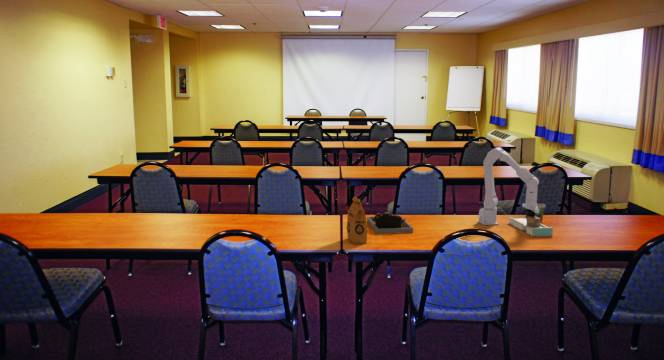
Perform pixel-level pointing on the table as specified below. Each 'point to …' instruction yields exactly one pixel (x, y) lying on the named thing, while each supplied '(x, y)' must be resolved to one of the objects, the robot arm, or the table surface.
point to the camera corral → (390, 230)
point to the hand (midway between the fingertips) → (529, 222)
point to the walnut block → (533, 222)
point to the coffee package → (357, 223)
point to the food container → (540, 210)
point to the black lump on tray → (388, 220)
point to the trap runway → (522, 225)
